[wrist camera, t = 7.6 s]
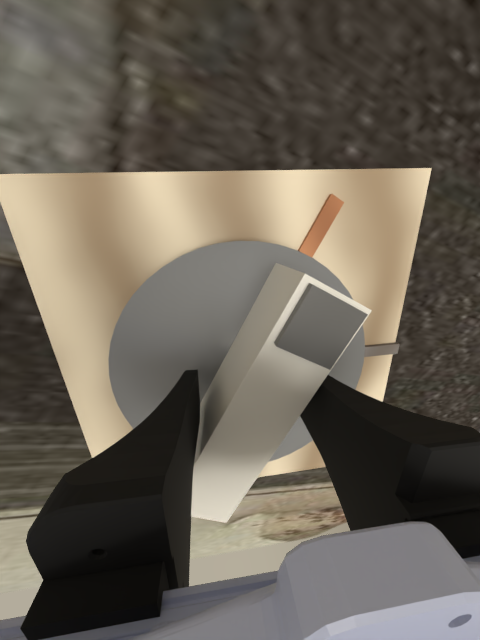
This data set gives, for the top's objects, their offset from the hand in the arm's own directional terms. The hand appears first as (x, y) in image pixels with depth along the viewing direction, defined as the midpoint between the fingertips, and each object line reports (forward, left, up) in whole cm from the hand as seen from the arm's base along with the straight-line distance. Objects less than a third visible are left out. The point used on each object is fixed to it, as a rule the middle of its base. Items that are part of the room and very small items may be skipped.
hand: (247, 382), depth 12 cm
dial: (0, 0, -2) cm, 2 cm away
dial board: (0, 0, -4) cm, 4 cm away
